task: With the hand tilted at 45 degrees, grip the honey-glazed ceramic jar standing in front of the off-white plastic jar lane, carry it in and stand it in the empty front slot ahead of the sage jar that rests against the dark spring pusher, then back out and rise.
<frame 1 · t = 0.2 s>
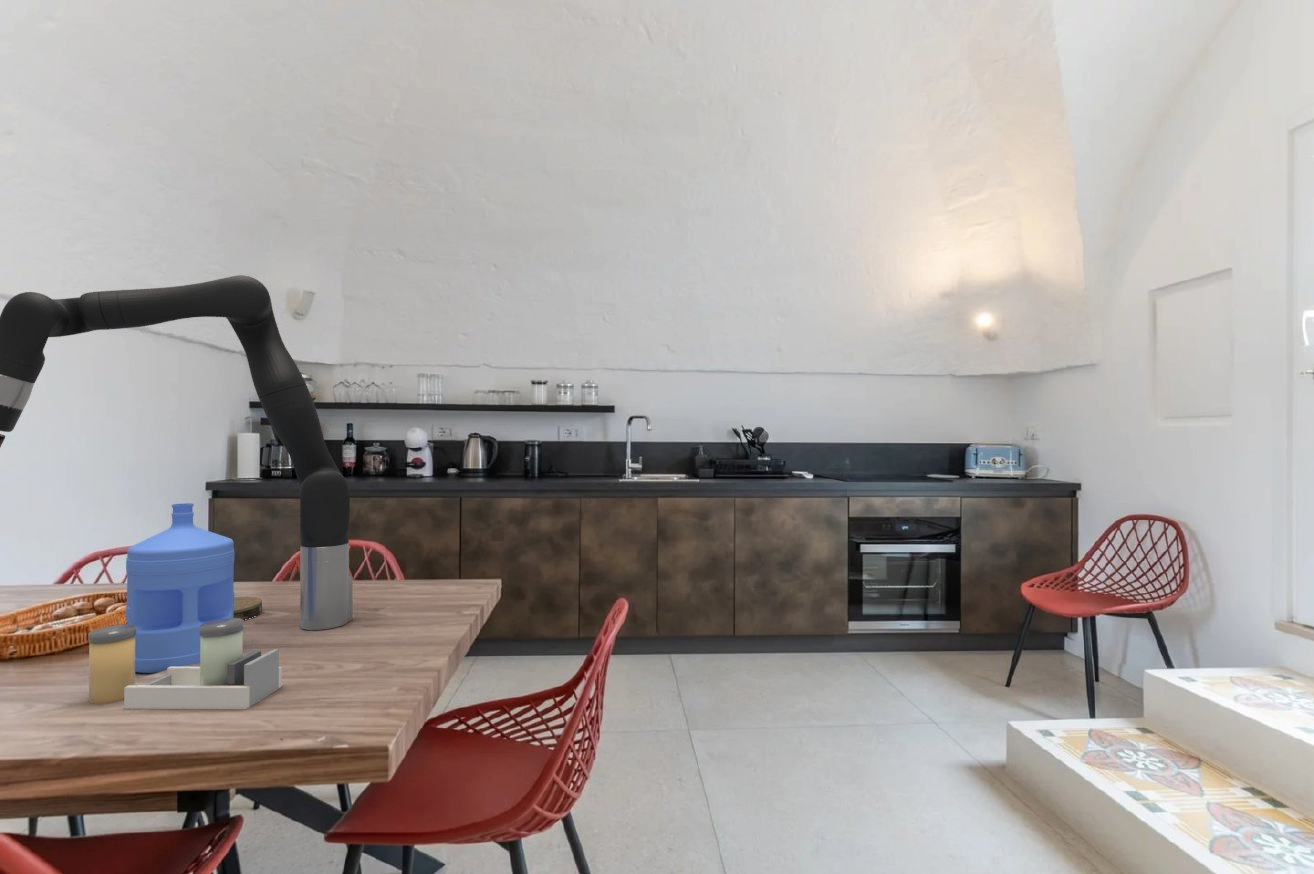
pusher: (247, 676, 94), point 4 cm above the table, slide at 0.0 cm
honey jar: (112, 703, 94), on the table
sage jar: (221, 696, 94), point 1 cm above the table, touching jar lane
jar lane: (178, 703, 94), on the table
brown round flat disc: (220, 619, 140), on the table
water jug: (182, 660, 113), on the table
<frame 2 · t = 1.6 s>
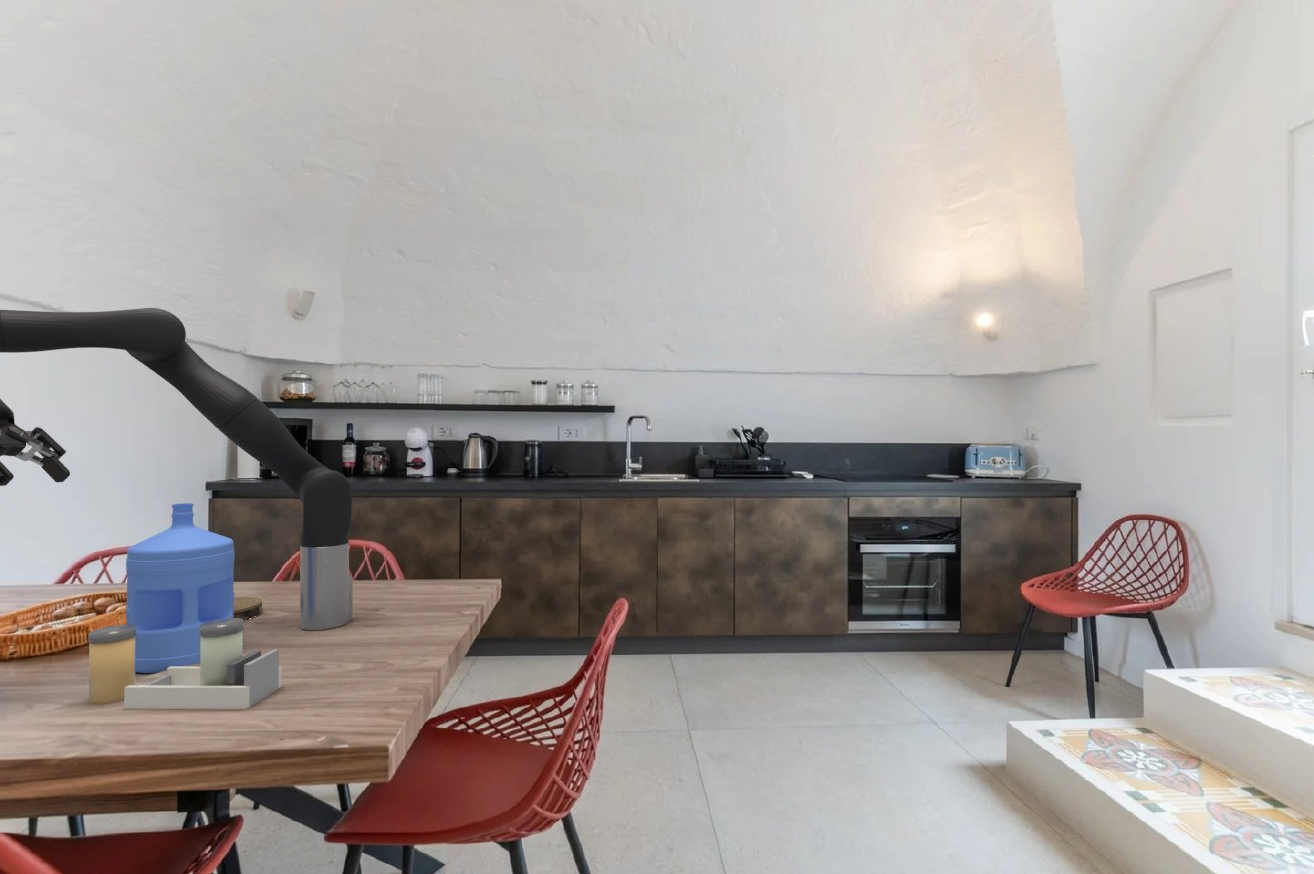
hand: (37, 480, 94), 33 cm above the table, tool tilted 45°, fingers open, 8 cm apart
nothing on the table moved.
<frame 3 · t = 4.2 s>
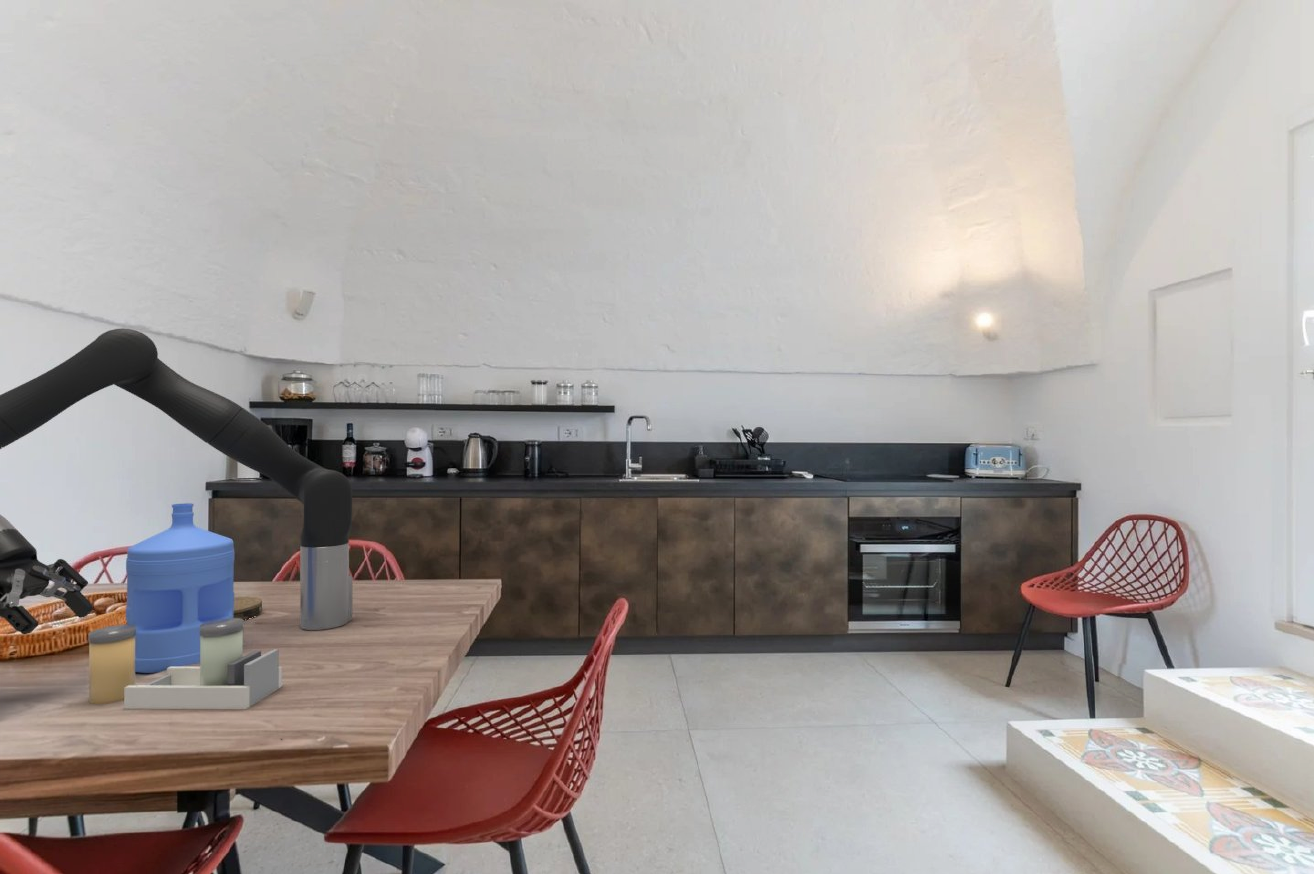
hand: (61, 621, 94), 12 cm above the table, tool tilted 45°, fingers open, 8 cm apart
nothing on the table moved.
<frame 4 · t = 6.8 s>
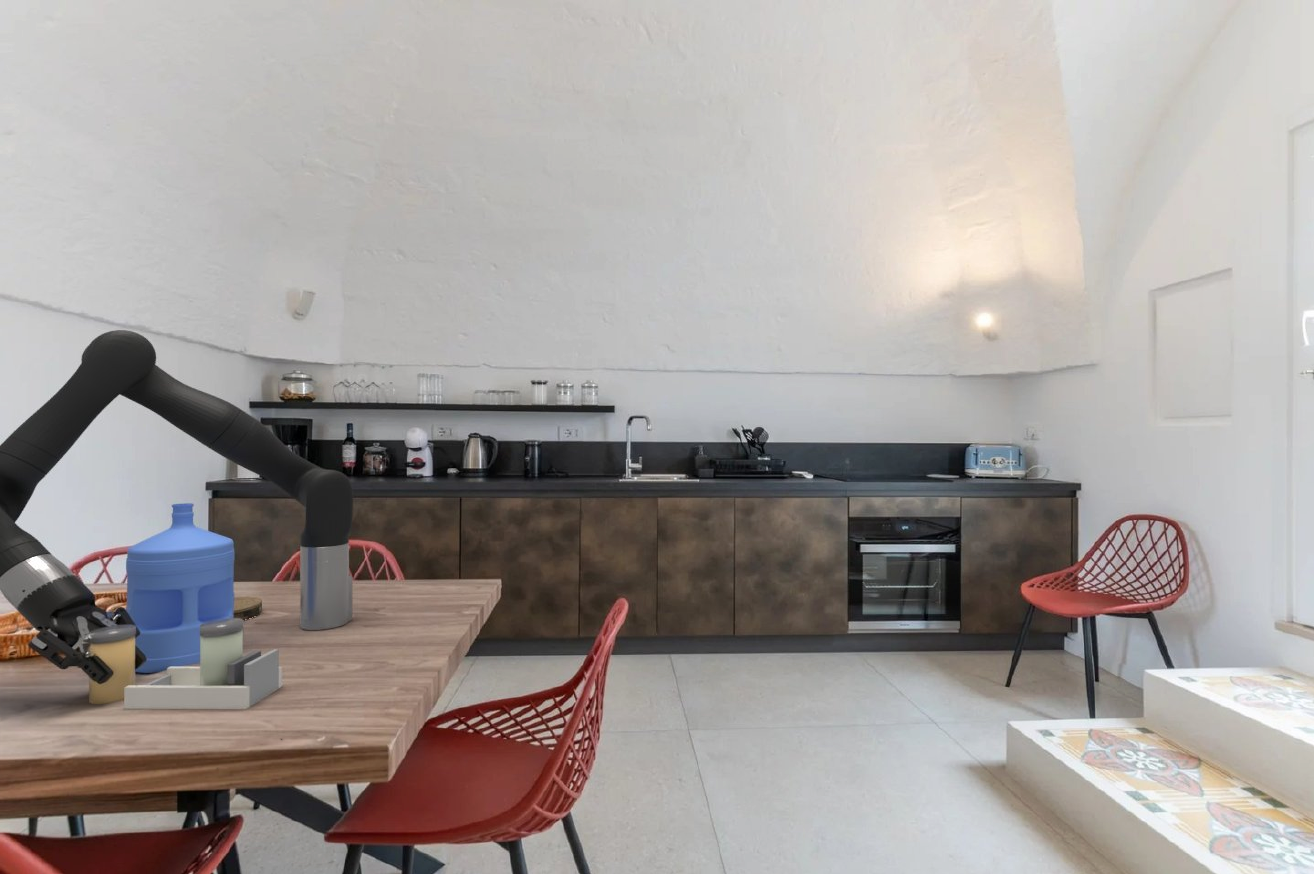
hand: (124, 671, 94), 5 cm above the table, tool tilted 45°, fingers closed on honey jar, 5 cm apart
honey jar: (112, 703, 94), on the table, touching gripper
everything else where it was.
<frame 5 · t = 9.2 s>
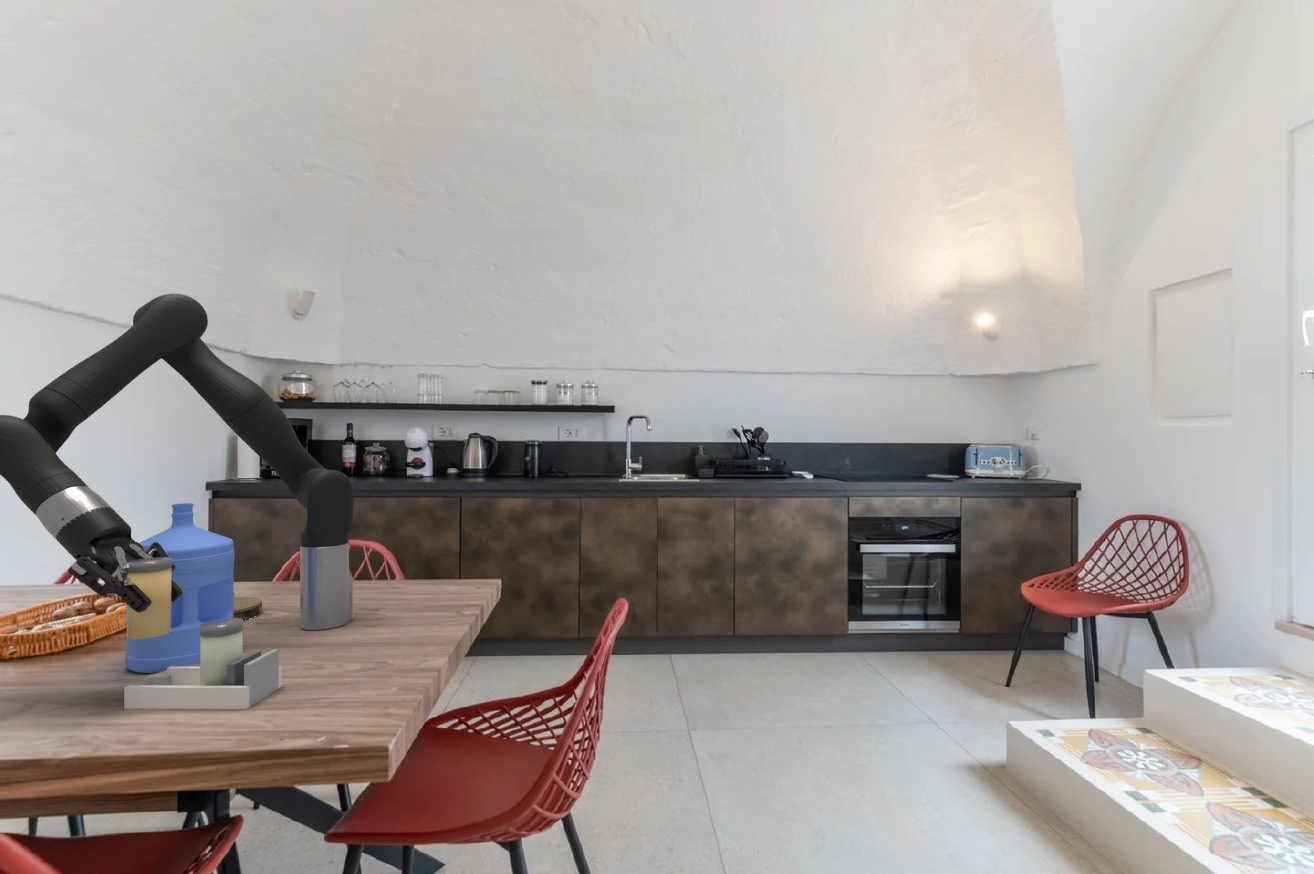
hand: (161, 602, 94), 15 cm above the table, tool tilted 45°, fingers closed on honey jar, 5 cm apart
honey jar: (149, 633, 94), point 10 cm above the table, touching gripper
everything else where it was.
when the fingers open (7 cm above the table, at t = 11.5 s): honey jar drops 1 cm, resting on jar lane.
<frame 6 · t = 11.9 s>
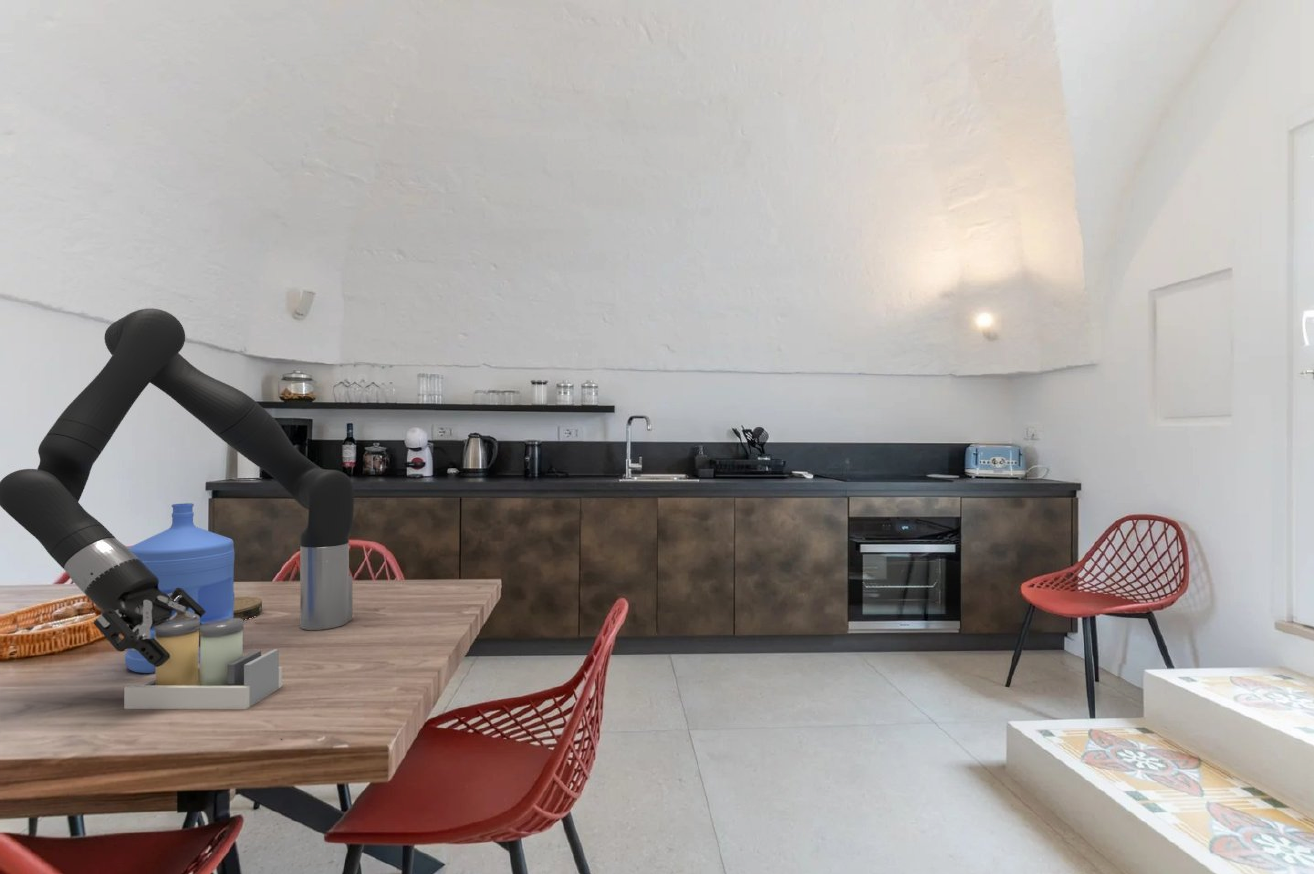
hand: (187, 652, 94), 8 cm above the table, tool tilted 45°, fingers open, 8 cm apart
honey jar: (177, 696, 94), point 1 cm above the table, touching jar lane
everything else where it was.
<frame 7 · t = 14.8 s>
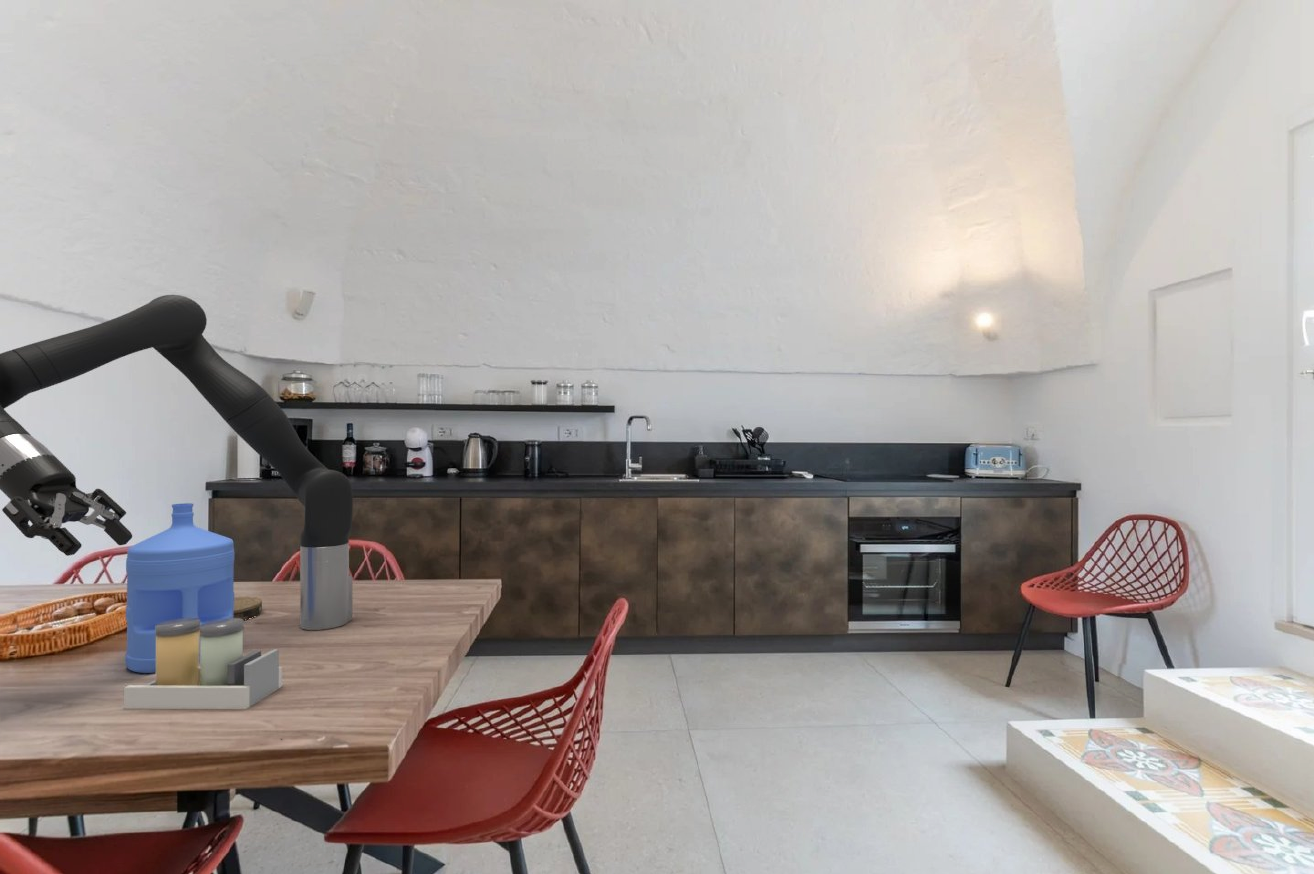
hand: (102, 546, 94), 24 cm above the table, tool tilted 45°, fingers open, 8 cm apart
nothing on the table moved.
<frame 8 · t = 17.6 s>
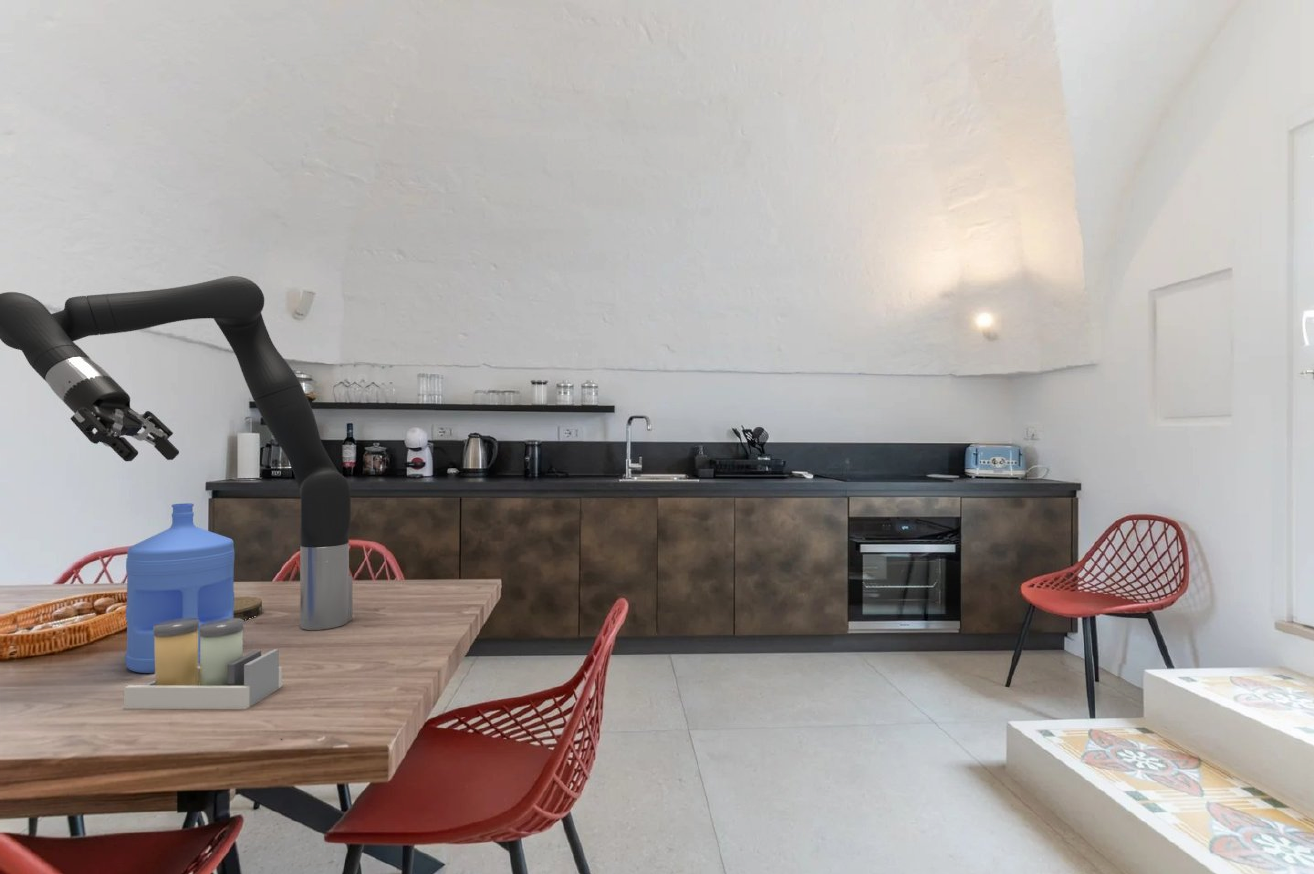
hand: (154, 457, 106), 37 cm above the table, tool tilted 45°, fingers open, 8 cm apart
nothing on the table moved.
at the end: honey jar 0.5 cm off-centre on the jar lane, point 1.0 cm above the jar lane's base; honey jar tilted 1°; the gripper is holding nothing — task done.
